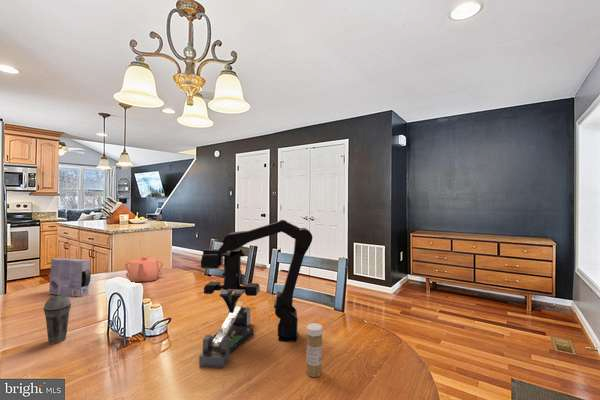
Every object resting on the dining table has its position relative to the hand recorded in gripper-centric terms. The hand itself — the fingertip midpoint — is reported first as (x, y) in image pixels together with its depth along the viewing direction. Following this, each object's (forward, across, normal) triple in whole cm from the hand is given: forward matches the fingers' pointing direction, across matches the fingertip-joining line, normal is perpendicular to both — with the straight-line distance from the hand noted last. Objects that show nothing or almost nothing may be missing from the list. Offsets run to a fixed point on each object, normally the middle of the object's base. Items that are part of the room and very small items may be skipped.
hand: (231, 312), depth 101 cm
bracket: (+9, 0, +3) cm, 9 cm away
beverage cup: (+9, +58, +9) cm, 60 cm away
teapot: (+9, +73, -60) cm, 95 cm away
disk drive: (+10, 0, +2) cm, 10 cm away
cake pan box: (+9, +94, -33) cm, 100 cm away
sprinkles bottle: (+9, -30, +17) cm, 36 cm away
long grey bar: (+3, 0, +2) cm, 4 cm away
